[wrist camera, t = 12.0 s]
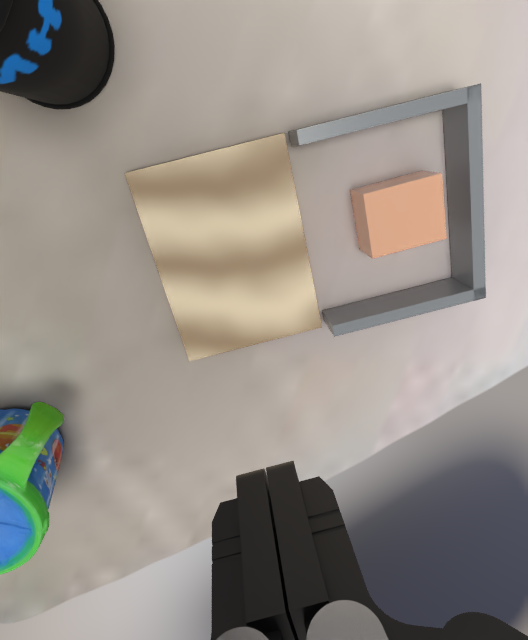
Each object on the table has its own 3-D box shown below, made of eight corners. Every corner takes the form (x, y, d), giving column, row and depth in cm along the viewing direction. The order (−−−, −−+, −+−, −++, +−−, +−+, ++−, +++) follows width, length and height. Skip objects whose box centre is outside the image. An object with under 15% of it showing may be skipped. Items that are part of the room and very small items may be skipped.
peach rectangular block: (349, 189, 34) (363, 194, 31) (420, 170, 34) (441, 173, 31) (358, 248, 36) (372, 258, 33) (426, 230, 36) (446, 238, 33)
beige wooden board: (127, 172, 32) (124, 173, 31) (282, 133, 32) (284, 132, 31) (190, 355, 38) (189, 361, 37) (318, 321, 38) (322, 327, 37)
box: (288, 131, 32) (296, 129, 29) (454, 89, 32) (480, 83, 29) (324, 320, 38) (334, 336, 35) (463, 285, 38) (485, 297, 35)
